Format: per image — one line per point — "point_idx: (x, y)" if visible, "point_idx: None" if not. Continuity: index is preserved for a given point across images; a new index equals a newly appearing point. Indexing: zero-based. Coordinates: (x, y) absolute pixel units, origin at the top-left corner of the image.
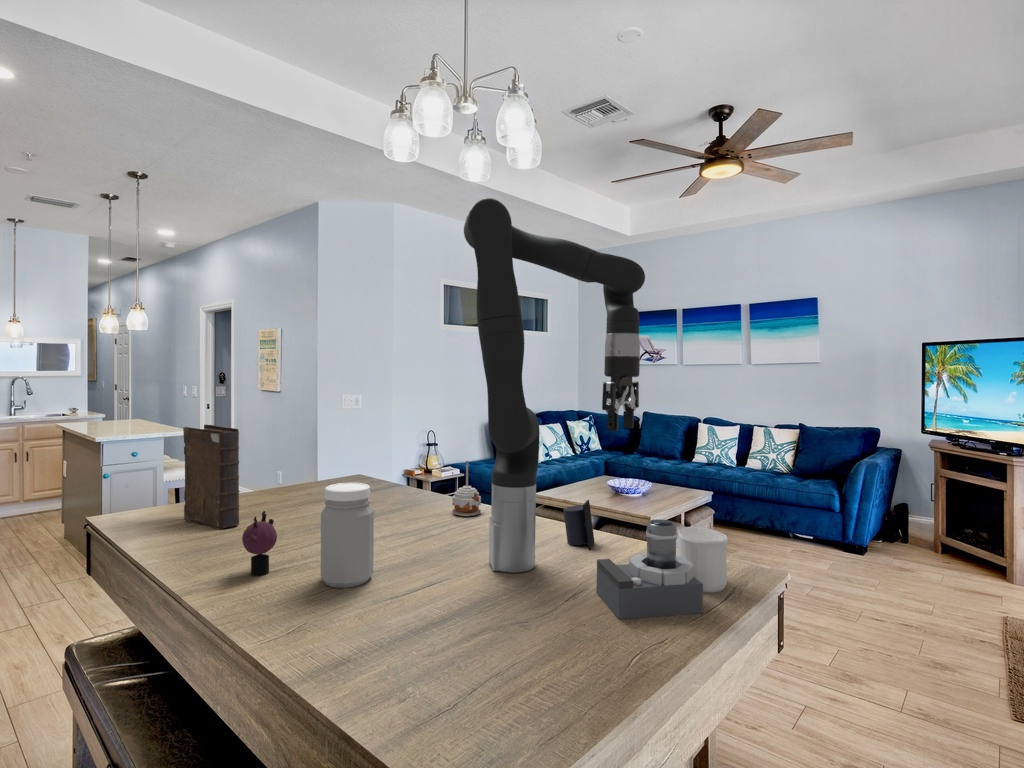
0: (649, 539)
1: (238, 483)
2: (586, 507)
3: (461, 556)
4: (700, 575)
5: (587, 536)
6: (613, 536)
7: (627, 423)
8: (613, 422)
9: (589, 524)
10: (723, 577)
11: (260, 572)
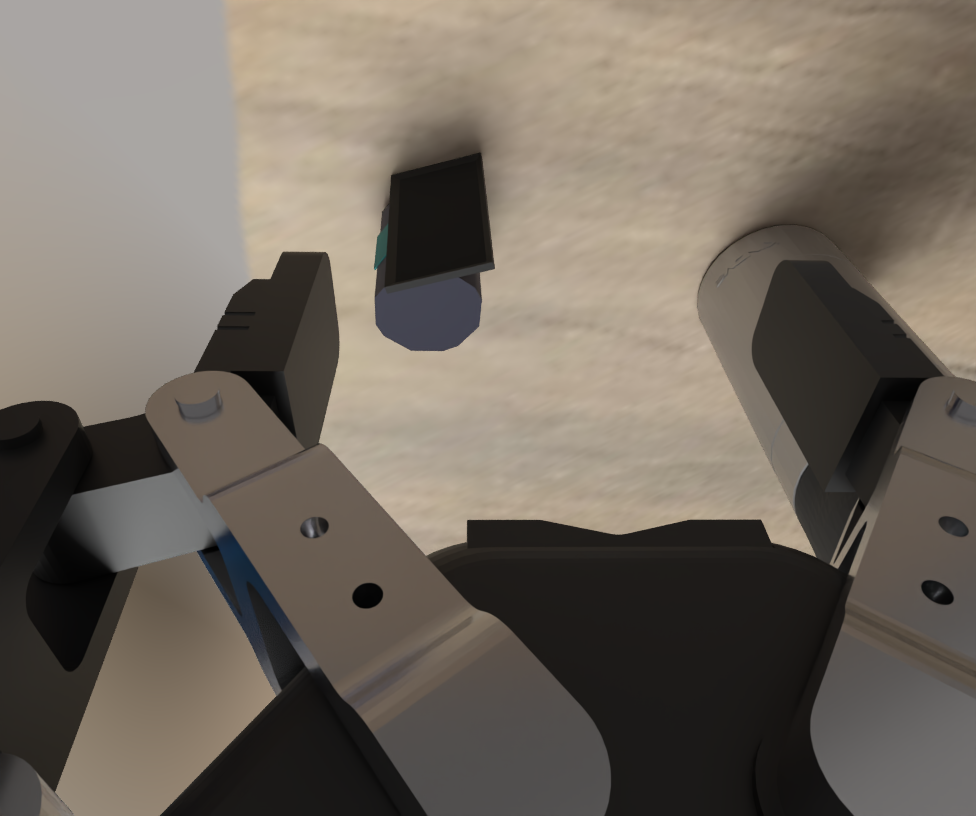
0: None
1: None
2: (447, 260)
3: (744, 430)
4: None
5: (484, 185)
6: (245, 150)
7: (326, 333)
8: (902, 332)
9: (430, 216)
10: None
11: None
